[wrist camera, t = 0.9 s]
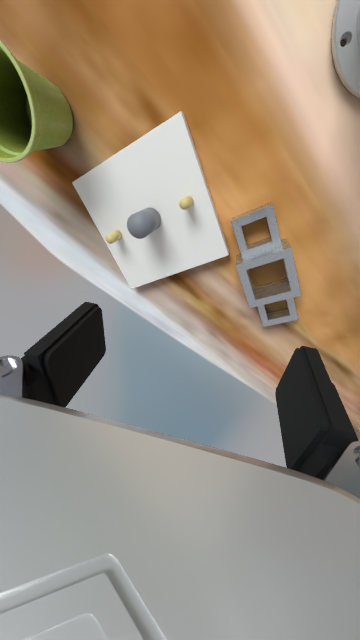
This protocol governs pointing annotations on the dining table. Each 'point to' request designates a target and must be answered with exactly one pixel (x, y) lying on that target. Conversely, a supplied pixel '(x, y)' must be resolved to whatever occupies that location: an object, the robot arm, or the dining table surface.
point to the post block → (154, 205)
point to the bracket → (262, 255)
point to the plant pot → (29, 111)
